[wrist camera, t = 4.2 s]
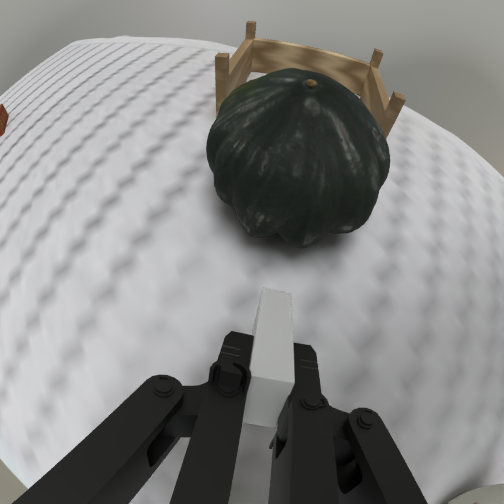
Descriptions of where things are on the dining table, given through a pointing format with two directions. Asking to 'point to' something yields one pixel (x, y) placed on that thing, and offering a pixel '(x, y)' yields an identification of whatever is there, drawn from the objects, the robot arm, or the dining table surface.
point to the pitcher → (482, 496)
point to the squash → (297, 156)
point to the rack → (313, 59)
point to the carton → (3, 119)
